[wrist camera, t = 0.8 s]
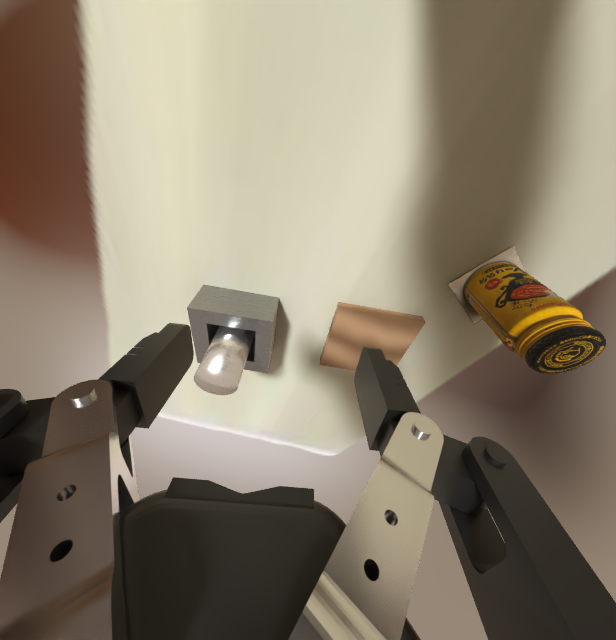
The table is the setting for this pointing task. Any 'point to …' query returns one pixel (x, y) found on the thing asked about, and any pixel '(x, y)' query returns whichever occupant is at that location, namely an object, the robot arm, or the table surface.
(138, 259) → the table surface
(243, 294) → the housing
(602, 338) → the condiment
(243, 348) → the plug
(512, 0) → the table surface
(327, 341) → the board
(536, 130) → the table surface
